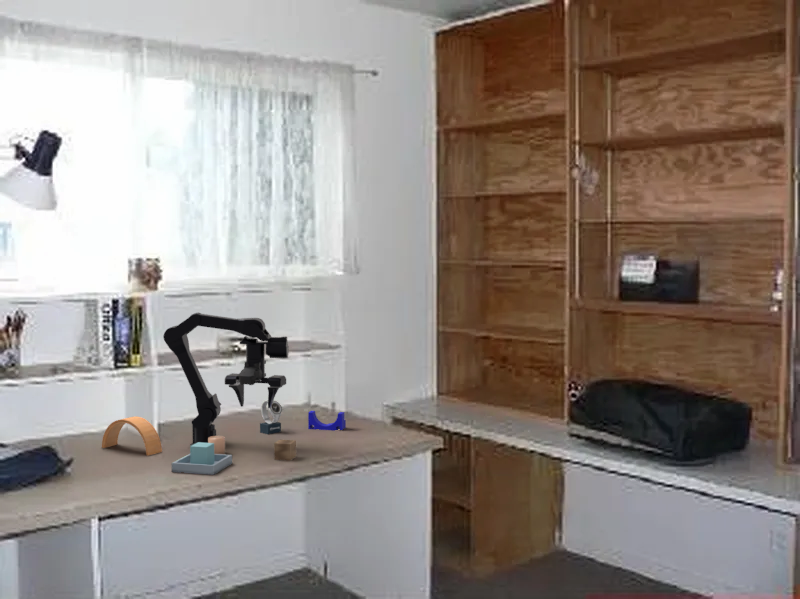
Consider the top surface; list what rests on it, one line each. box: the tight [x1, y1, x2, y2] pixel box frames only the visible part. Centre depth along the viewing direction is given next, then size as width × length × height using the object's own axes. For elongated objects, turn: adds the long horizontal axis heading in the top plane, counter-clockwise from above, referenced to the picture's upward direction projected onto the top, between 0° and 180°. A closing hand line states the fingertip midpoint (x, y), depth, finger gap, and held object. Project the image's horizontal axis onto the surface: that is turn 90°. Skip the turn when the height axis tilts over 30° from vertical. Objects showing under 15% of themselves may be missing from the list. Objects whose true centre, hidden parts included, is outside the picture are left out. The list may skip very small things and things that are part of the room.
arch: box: [101, 416, 163, 456], centre depth 269 cm, size 6×20×10 cm, turn 60°
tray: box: [171, 453, 233, 476], centre depth 248 cm, size 13×13×2 cm
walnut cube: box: [273, 439, 297, 462], centre depth 259 cm, size 5×5×5 cm
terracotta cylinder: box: [208, 435, 226, 455], centre depth 264 cm, size 5×5×5 cm
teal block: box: [189, 442, 214, 465], centre depth 248 cm, size 5×5×6 cm
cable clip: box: [307, 410, 347, 431], centre depth 300 cm, size 12×4×6 cm, turn 78°
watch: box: [259, 399, 283, 435], centre depth 294 cm, size 6×8×11 cm
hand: (255, 407), depth 276 cm, fingers open, 9 cm apart
